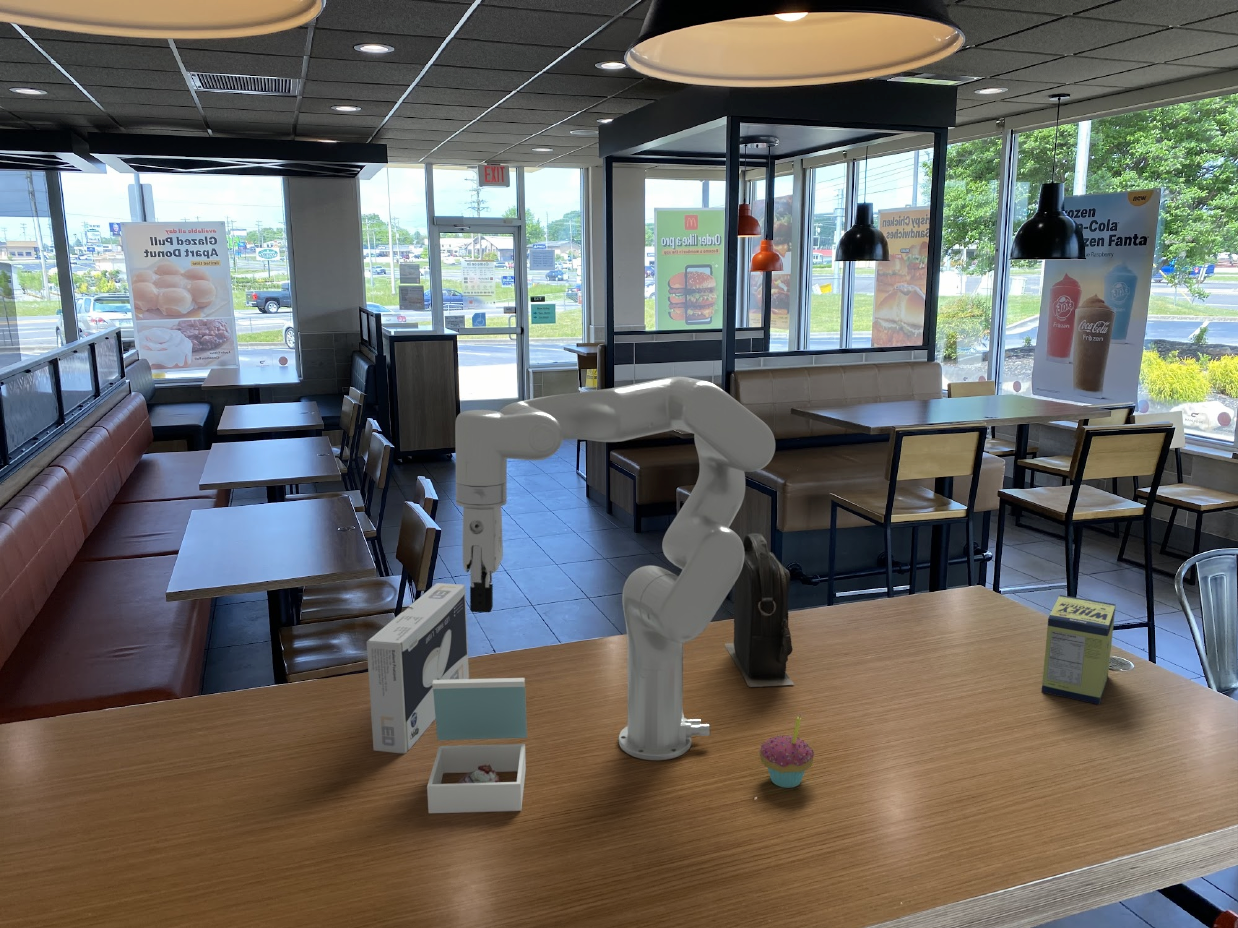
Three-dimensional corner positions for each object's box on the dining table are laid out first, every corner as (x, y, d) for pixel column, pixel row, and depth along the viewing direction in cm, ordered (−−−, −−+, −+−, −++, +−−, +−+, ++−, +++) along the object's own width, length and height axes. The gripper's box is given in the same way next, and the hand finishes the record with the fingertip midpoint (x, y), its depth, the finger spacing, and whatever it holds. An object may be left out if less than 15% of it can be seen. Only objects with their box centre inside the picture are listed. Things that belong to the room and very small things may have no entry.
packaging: (406, 753, 156) (400, 643, 152) (373, 750, 157) (365, 641, 153) (469, 678, 185) (465, 584, 181) (441, 675, 187) (436, 582, 182)
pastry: (514, 794, 144) (513, 765, 143) (476, 815, 139) (475, 785, 138) (482, 776, 149) (481, 748, 148) (444, 795, 144) (443, 766, 143)
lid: (526, 738, 150) (527, 734, 151) (524, 681, 146) (524, 677, 147) (437, 740, 150) (438, 736, 151) (432, 683, 146) (433, 679, 147)
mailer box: (525, 768, 151) (525, 743, 150) (521, 810, 139) (520, 783, 138) (440, 771, 151) (439, 746, 150) (428, 813, 139) (427, 786, 138)
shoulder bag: (723, 643, 202) (726, 520, 196) (764, 641, 203) (767, 519, 197) (749, 688, 180) (752, 552, 174) (794, 685, 181) (799, 550, 175)
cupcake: (815, 771, 150) (818, 703, 148) (808, 799, 142) (811, 728, 140) (763, 762, 153) (765, 696, 150) (753, 789, 145) (755, 719, 142)
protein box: (1108, 675, 185) (1116, 602, 182) (1100, 706, 172) (1109, 628, 169) (1052, 664, 191) (1059, 593, 187) (1040, 692, 178) (1047, 617, 174)
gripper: (500, 505, 129) (499, 628, 133) (512, 483, 144) (511, 594, 147) (447, 504, 129) (448, 627, 133) (464, 482, 144) (465, 593, 147)
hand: (481, 610), depth 140 cm, fingers closed
